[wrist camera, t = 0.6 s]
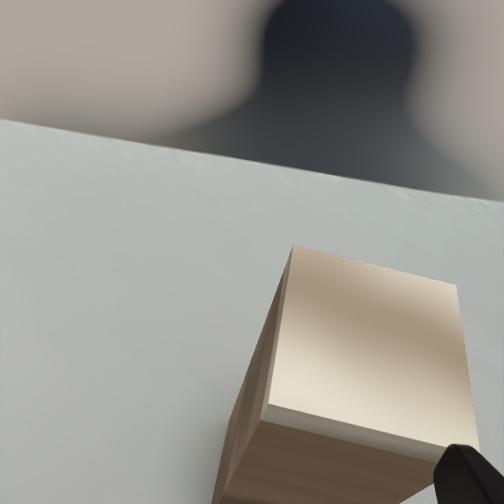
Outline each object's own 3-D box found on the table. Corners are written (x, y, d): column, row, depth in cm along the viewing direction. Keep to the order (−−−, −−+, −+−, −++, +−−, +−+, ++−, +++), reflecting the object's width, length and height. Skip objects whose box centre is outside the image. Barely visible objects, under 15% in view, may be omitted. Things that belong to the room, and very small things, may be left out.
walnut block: (314, 553, 21) (480, 455, 11) (206, 527, 21) (268, 403, 11) (322, 442, 25) (455, 285, 14) (229, 420, 25) (293, 244, 14)
